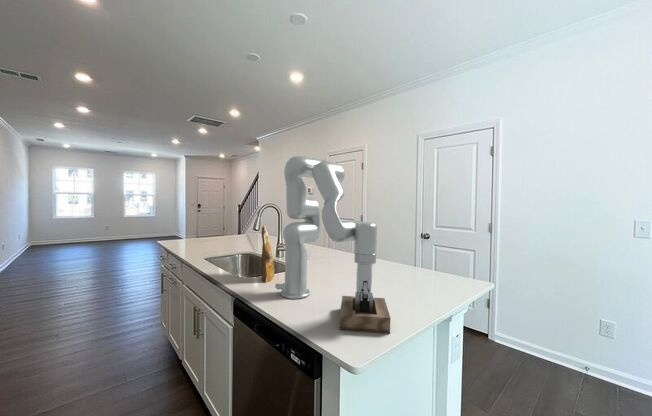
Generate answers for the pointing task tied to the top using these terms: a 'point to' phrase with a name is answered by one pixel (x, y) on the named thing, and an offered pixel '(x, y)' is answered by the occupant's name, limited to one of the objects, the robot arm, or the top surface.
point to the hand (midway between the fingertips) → (363, 306)
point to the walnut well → (364, 317)
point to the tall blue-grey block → (357, 303)
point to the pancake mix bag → (266, 257)
